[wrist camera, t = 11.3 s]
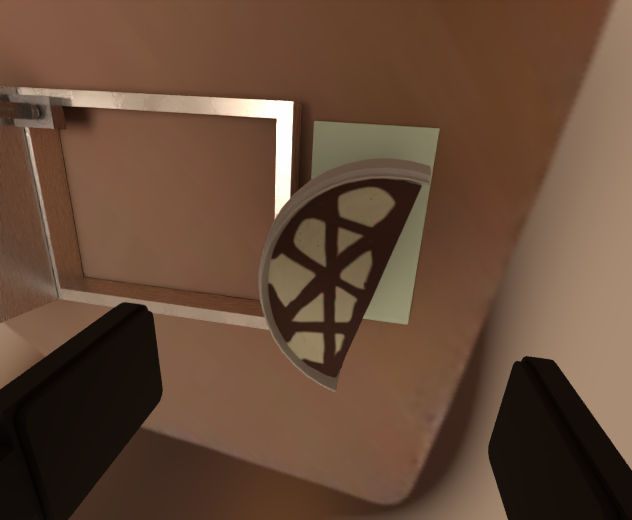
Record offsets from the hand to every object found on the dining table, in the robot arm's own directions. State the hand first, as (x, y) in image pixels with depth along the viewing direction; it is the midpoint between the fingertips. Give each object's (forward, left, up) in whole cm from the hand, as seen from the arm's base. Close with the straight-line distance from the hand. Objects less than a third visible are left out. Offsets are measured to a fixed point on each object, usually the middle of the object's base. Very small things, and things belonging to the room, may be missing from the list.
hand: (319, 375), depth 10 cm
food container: (0, -1, -18) cm, 18 cm away
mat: (+1, 0, -18) cm, 18 cm away
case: (+1, -16, -18) cm, 24 cm away
